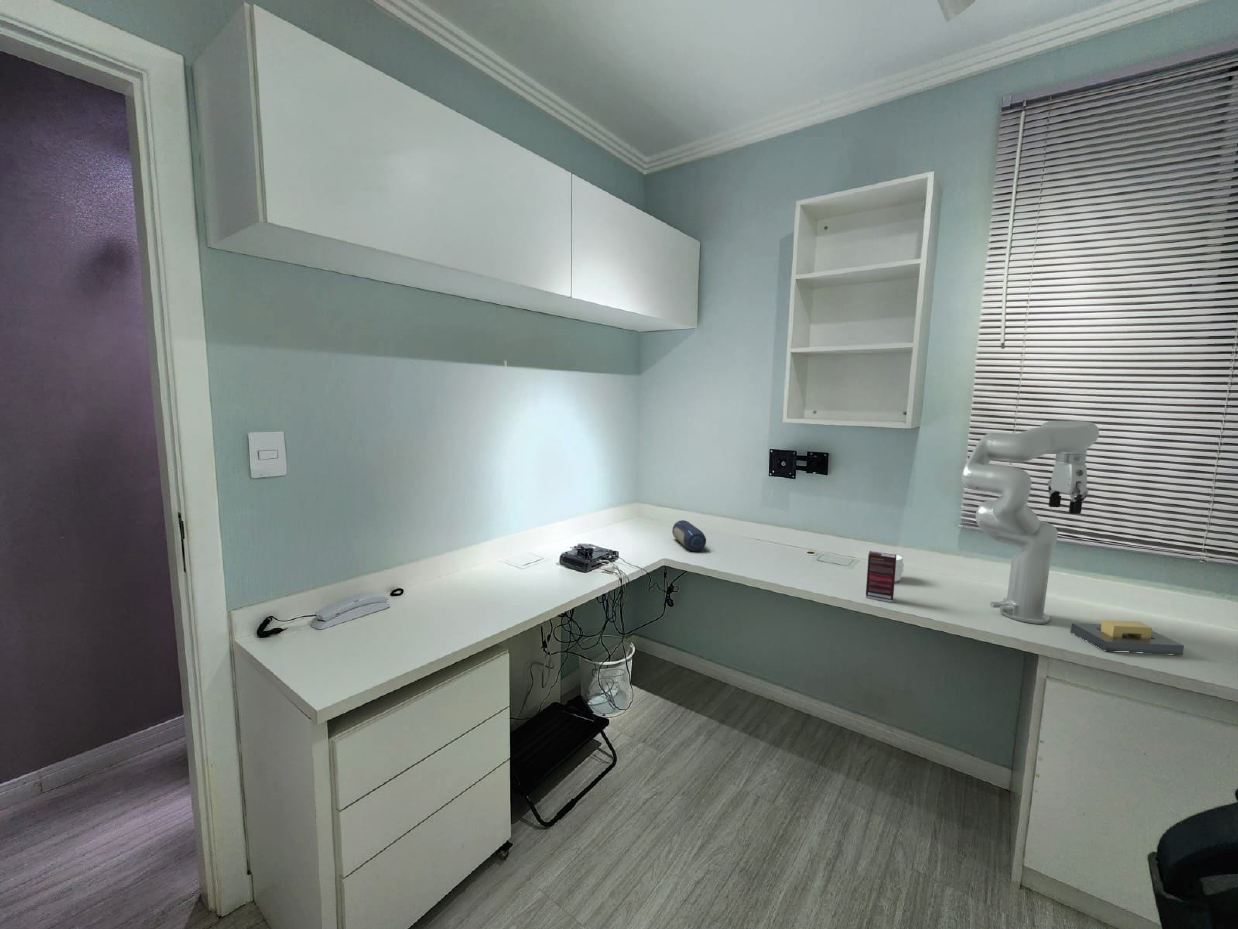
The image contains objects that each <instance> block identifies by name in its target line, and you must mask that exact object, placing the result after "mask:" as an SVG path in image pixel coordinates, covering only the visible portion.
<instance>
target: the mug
mask: <svg viewBox="0 0 1238 929" xmlns="http://www.w3.org/2000/svg"><path fill="white" fill-rule="evenodd" d="M888 553H889V554H892V553H890V552H888ZM904 567H905V564H904V562H903V557H902V556H900V555H898V554H896V569H895V583H896V582H899V581H901V579H902V575H903V572H904Z"/></svg>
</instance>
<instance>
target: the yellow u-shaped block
mask: <svg viewBox="0 0 1238 929" xmlns="http://www.w3.org/2000/svg"><path fill="white" fill-rule="evenodd" d="M1101 624H1102V625H1101V631H1102V632H1104V633H1106V634H1107V635H1109V636H1111V637H1121V638H1122V634H1123V633H1131V634H1133V635H1135V636H1137V637H1139V638H1141V639H1151V633H1152V631H1153V627H1152V626H1149V625H1147V624H1145V623H1143V622H1140V621H1133V620H1115V619H1113V620H1112V619H1111V620H1110V619H1102V620H1101Z"/></svg>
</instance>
